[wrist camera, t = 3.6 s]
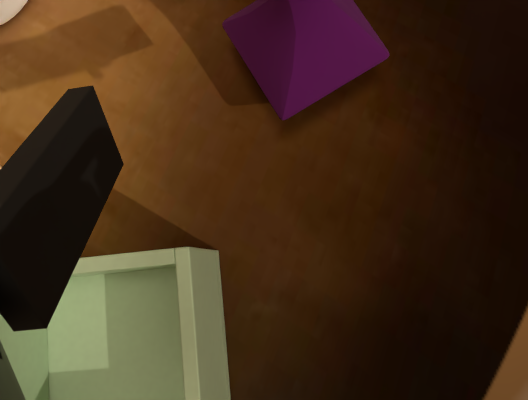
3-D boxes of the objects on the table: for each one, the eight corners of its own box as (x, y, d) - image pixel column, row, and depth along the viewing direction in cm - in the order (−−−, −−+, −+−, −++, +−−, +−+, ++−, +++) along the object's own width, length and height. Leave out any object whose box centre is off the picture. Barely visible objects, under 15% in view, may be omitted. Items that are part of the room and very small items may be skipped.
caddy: (218, 250, 30) (189, 246, 23) (235, 448, 29) (208, 507, 22) (43, 268, 32) (-34, 269, 25) (48, 459, 30) (-33, 518, 23)
